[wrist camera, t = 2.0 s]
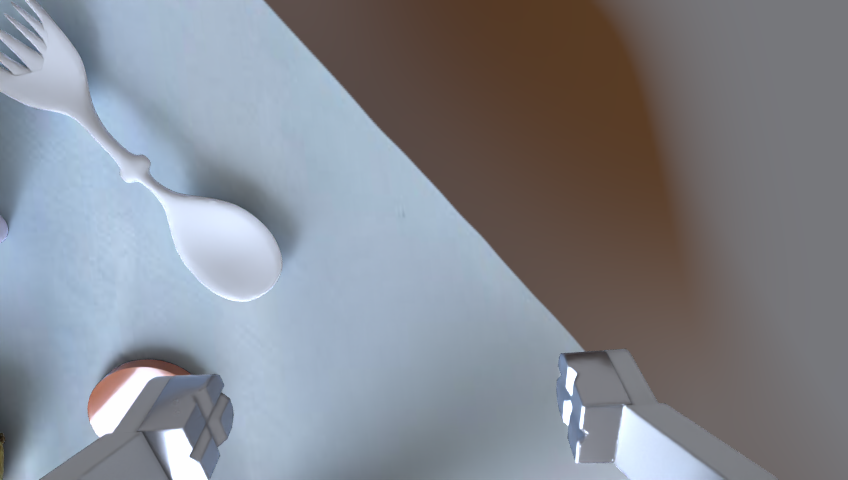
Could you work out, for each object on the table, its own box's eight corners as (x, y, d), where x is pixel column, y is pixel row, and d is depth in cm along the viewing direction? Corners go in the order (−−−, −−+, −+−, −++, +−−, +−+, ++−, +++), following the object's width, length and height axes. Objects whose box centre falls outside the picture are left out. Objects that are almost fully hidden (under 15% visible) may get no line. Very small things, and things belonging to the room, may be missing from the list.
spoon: (43, -10, 40) (14, -19, 36) (303, 257, 50) (299, 269, 46) (-29, 59, 41) (-64, 57, 37) (240, 308, 50) (232, 323, 47)
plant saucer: (188, 460, 55) (183, 470, 54) (81, 430, 52) (73, 440, 51) (223, 380, 53) (220, 388, 51) (113, 344, 50) (106, 351, 48)
